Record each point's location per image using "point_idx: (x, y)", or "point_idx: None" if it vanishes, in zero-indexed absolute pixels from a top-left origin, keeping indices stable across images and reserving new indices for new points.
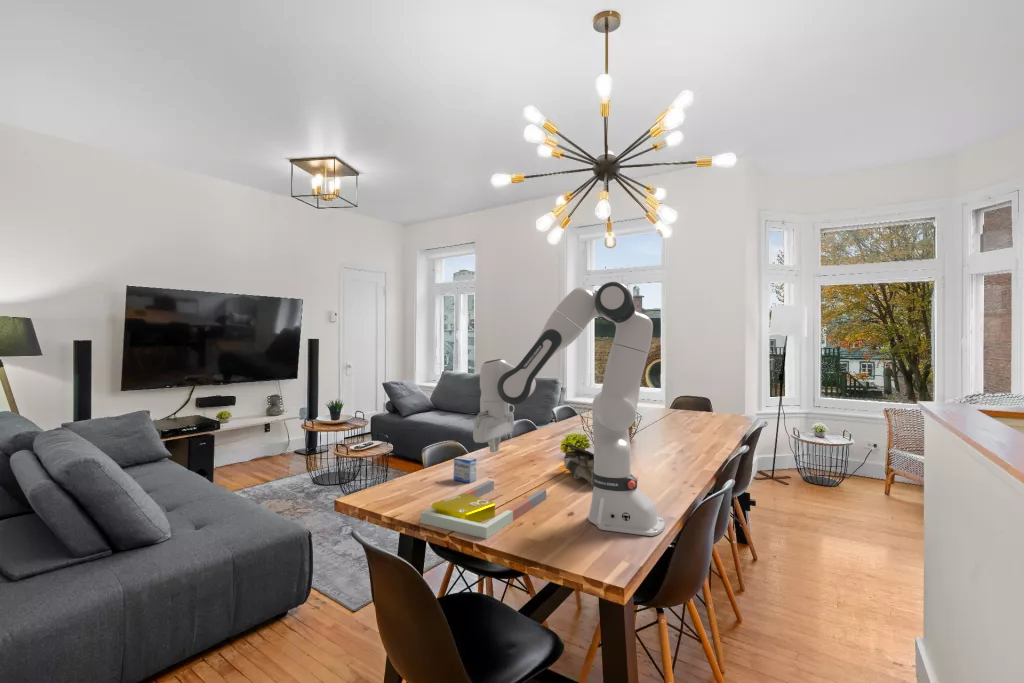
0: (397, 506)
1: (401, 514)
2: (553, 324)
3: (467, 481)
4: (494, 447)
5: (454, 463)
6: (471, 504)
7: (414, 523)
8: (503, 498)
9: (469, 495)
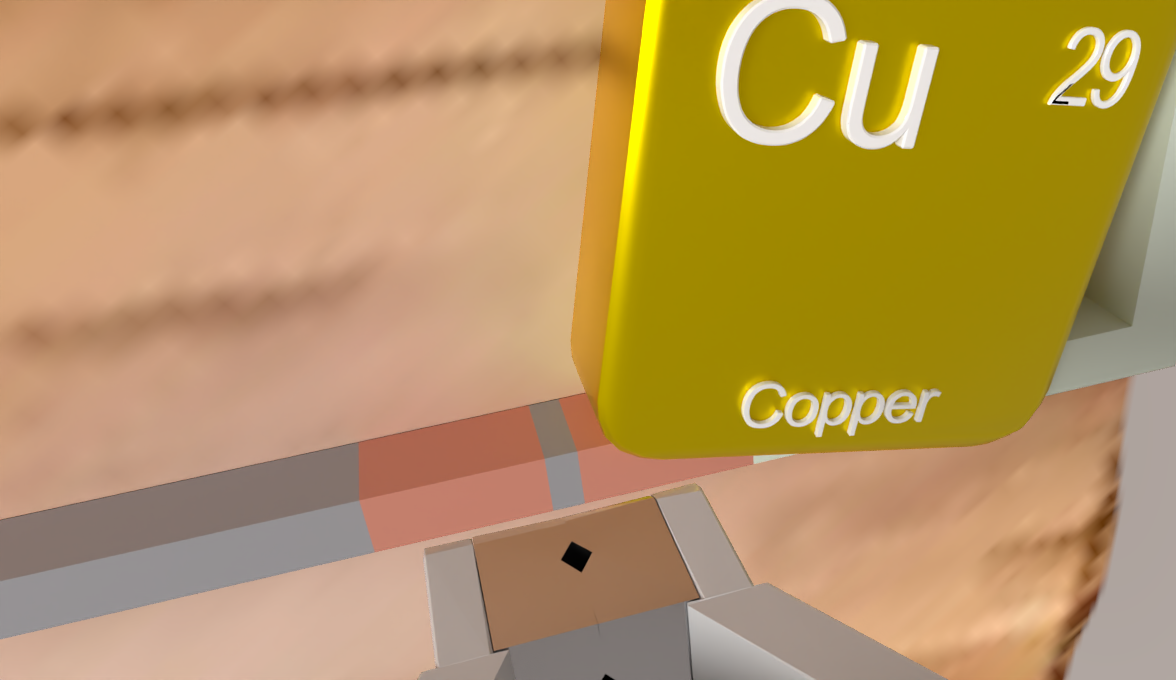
0: None
1: (1019, 540)
2: None
3: None
4: (745, 576)
5: None
6: (921, 111)
7: None
8: (103, 238)
9: (644, 363)
